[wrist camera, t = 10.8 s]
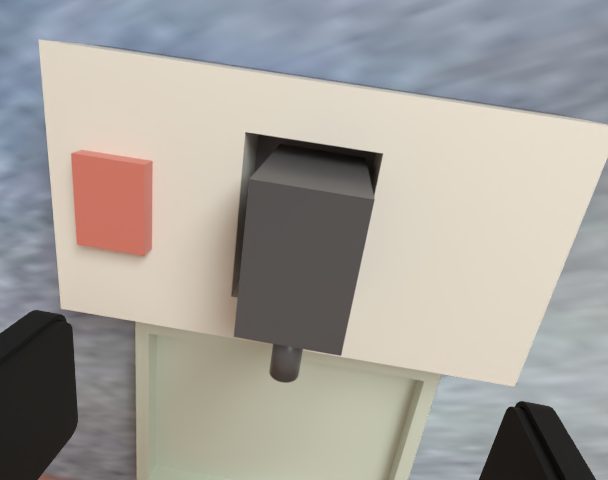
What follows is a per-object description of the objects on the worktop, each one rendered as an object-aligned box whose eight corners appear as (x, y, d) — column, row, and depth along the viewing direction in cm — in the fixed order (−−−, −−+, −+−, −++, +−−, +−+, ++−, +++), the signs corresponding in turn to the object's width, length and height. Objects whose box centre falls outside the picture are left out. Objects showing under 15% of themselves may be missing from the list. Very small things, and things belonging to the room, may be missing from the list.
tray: (436, 352, 26) (442, 372, 24) (388, 508, 31) (390, 533, 29) (148, 303, 26) (135, 319, 25) (147, 464, 32) (136, 486, 30)
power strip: (557, 114, 21) (632, 130, 15) (483, 327, 25) (521, 398, 20) (105, 45, 21) (24, 38, 16) (112, 265, 26) (50, 317, 20)
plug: (365, 157, 20) (374, 199, 14) (335, 305, 23) (331, 398, 17) (280, 143, 20) (249, 178, 14) (261, 293, 23) (229, 380, 17)
